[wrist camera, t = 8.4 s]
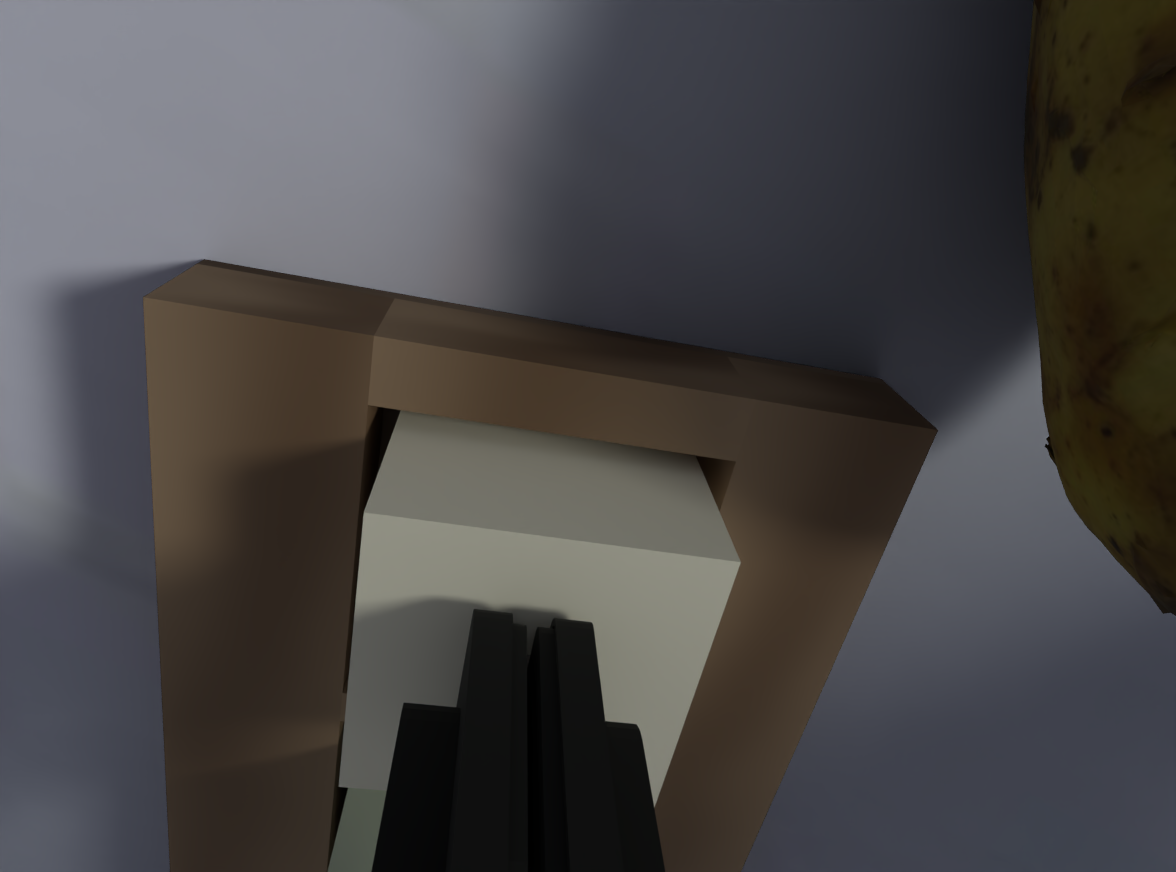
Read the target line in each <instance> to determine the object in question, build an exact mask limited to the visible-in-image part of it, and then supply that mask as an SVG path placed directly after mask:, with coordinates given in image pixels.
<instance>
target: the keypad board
mask: <svg viewBox="0 0 1176 872" xmlns="http://www.w3.org/2000/svg"><path fill="white" fill-rule="evenodd" d="M143 307H144V328H145V349H146V370H147V392H148V413H149V434H150V455H151V477H152V498H153V519H154V540H155V561H156V583H157V604H158V625H159V646H160V667H161V689H162V710H163V731H164V752H165V773H166V795H167V816H168V837H169V858H170V872H328V868H329V864H330V860H331V856H332V852H333V848H334V844H335V839H336V835H337V831H338V827H339V823H340V819H341V815H342V811H343V807H344V803H345V799H346V795H347V791H348V788H347V787H339V777H340V766H341V755H342V744H343V733H344V722H345V711H346V701H347V690H348V679H349V668H350V657H351V646H352V635H353V624H354V613H355V603H356V592H357V581H358V570H359V559H360V548H361V537H362V526H363V515H364V510H365V508H366V505H367V502H368V499H369V497H370V494H371V491H372V488H373V486H374V483H375V480H376V477H377V474H378V472H379V469H380V466H381V463H382V461H383V458H384V455H385V452H386V450H387V447H388V444H389V441H390V439H391V436H392V433H393V430H394V428H395V425H396V422H397V419H398V417H399V414H400V411H401V410H403V411H410V412H416V413H423V414H429V415H436V416H442V417H449V418H455V419H462V420H468V421H475V422H481V423H488V424H494V425H501V426H507V427H514V428H521V429H527V430H534V431H540V432H547V433H553V434H560V435H566V436H573V437H579V438H586V439H592V440H599V441H605V442H612V443H618V444H625V445H631V446H638V447H644V448H651V449H657V450H664V451H670V452H677V453H683V454H690V455H696V458H697V460H698V462H699V465H700V467H701V469H702V472H703V474H704V476H705V479H706V481H707V484H708V486H709V488H710V491H711V493H712V495H713V498H714V500H715V502H716V505H717V507H718V510H719V512H720V514H721V517H722V519H723V521H724V524H725V526H726V528H727V531H728V533H729V536H730V538H731V540H732V543H733V545H734V547H735V550H736V552H737V554H738V557H739V559H740V562H741V563H740V566H739V569H738V572H737V575H736V577H735V580H734V583H733V586H732V589H731V592H730V594H729V597H728V600H727V603H726V606H725V609H724V611H723V614H722V617H721V620H720V623H719V626H718V628H717V631H716V634H715V637H714V640H713V643H712V646H711V648H710V651H709V654H708V657H707V660H706V663H705V665H704V668H703V671H702V674H701V677H700V680H699V682H698V685H697V688H696V691H695V694H694V697H693V699H692V702H691V705H690V708H689V711H688V714H687V716H686V719H685V722H684V725H683V728H682V731H681V734H680V736H679V739H678V742H677V745H676V748H675V751H674V753H673V756H672V759H671V762H670V765H669V768H668V770H667V773H666V776H665V779H664V782H663V785H662V787H661V790H660V793H659V796H658V799H657V802H656V804H655V807H654V809H655V815H656V820H657V826H658V832H659V838H660V843H661V849H662V855H663V860H664V866H665V872H741V870H742V868H743V866H744V864H745V861H746V859H747V857H748V855H749V852H750V850H751V848H752V846H753V843H754V841H755V839H756V837H757V834H758V832H759V830H760V828H761V826H762V823H763V821H764V819H765V817H766V814H767V812H768V810H769V808H770V805H771V803H772V801H773V799H774V796H775V794H776V792H777V790H778V787H779V785H780V783H781V781H782V779H783V776H784V774H785V772H786V770H787V767H788V765H789V763H790V761H791V758H792V756H793V754H794V752H795V749H796V747H797V745H798V743H799V740H800V738H801V736H802V734H803V731H804V729H805V727H806V725H807V723H808V720H809V718H810V716H811V714H812V711H813V709H814V707H815V705H816V702H817V700H818V698H819V696H820V693H821V691H822V689H823V687H824V684H825V682H826V680H827V678H828V676H829V673H830V671H831V669H832V667H833V664H834V662H835V660H836V658H837V655H838V653H839V651H840V649H841V646H842V644H843V642H844V640H845V637H846V635H847V633H848V631H849V628H850V626H851V624H852V622H853V620H854V617H855V615H856V613H857V611H858V608H859V606H860V604H861V602H862V599H863V597H864V595H865V593H866V590H867V588H868V586H869V584H870V581H871V579H872V577H873V575H874V573H875V570H876V568H877V566H878V564H879V561H880V559H881V557H882V555H883V552H884V550H885V548H886V546H887V543H888V541H889V539H890V537H891V534H892V532H893V530H894V528H895V526H896V523H897V521H898V519H899V517H900V514H901V512H902V510H903V508H904V505H905V503H906V501H907V499H908V496H909V494H910V492H911V490H912V487H913V485H914V483H915V481H916V478H917V476H918V474H919V472H920V470H921V467H922V465H923V463H924V461H925V458H926V456H927V454H928V452H929V449H930V447H931V445H932V443H933V440H934V438H935V436H936V434H937V431H938V430H937V429H936V428H935V427H934V426H933V425H932V424H931V423H930V422H929V421H927V420H926V419H925V418H924V417H923V416H922V415H921V414H920V413H919V412H917V411H916V410H915V409H914V408H913V407H912V406H911V405H910V404H909V403H907V402H906V401H905V400H904V399H903V398H902V397H901V396H900V395H899V394H898V393H896V392H895V391H894V390H893V389H892V388H891V387H890V386H889V385H888V384H886V383H885V382H884V381H883V380H882V379H880V378H874V377H868V376H863V375H857V374H851V373H846V372H840V371H834V370H829V369H823V368H817V367H812V366H806V365H800V364H795V363H789V362H783V361H778V360H772V359H766V358H761V357H755V356H749V355H744V354H738V353H732V352H727V351H721V350H715V349H710V348H704V347H698V346H693V345H687V344H681V343H676V342H670V341H664V340H659V339H653V338H647V337H642V336H636V335H630V334H625V333H619V332H613V331H607V330H602V329H596V328H590V327H585V326H579V325H573V324H568V323H562V322H556V321H551V320H545V319H539V318H534V317H528V316H522V315H517V314H511V313H505V312H500V311H494V310H488V309H483V308H477V307H471V306H466V305H460V304H454V303H449V302H443V301H437V300H432V299H426V298H420V297H415V296H409V295H403V294H398V293H392V292H386V291H381V290H375V289H369V288H364V287H358V286H352V285H347V284H341V283H335V282H330V281H324V280H318V279H313V278H307V277H301V276H296V275H290V274H284V273H279V272H273V271H267V270H262V269H256V268H250V267H245V266H239V265H233V264H228V263H222V262H216V261H211V260H205V259H204V260H202V261H201V262H199V263H198V264H196V265H194V266H193V267H191V268H189V269H188V270H186V271H185V272H183V273H181V274H180V275H178V276H177V277H175V278H173V279H172V280H170V281H168V282H167V283H165V284H164V285H162V286H160V287H159V288H157V289H155V290H154V291H152V292H151V293H149V294H147V295H146V296H144V297H143Z"/></svg>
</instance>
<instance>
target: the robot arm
mask: <svg viewBox="0 0 1176 872" xmlns="http://www.w3.org/2000/svg"><path fill="white" fill-rule="evenodd" d="M371 872H665V866H664V860H663V855H662V849H661V843H660V838H659V832H658V826H657V820H656V815H655V809H654V803H653V797H652V792H651V786H650V780H649V774H648V769H647V763H646V757H645V751H644V746H643V740H642V736H641V732H640V729H639V727H638V726H637V724H631V723H621V722H610V721H605V715H604V707H603V698H602V690H601V682H600V674H599V666H598V658H597V650H596V642H595V633H594V627H593V624H592V622H586V621H577V620H568V619H559V618H554V619H553V620H552V622H551V626H550V628H545V627H537V629H536V633H535V637H534V641H533V646H532V650H531V655H530V659H529V664H528V668H527V627H526V625H518V624H513V614H512V613H506V612H497V611H489V610H480V609H474V610H473V615H472V620H471V626H470V631H469V637H468V643H467V649H466V654H465V660H464V666H463V671H462V677H461V683H460V689H459V694H458V700H457V706H456V707H448V706H437V705H426V704H416V703H405V702H404V703H403V707H402V712H401V717H400V722H399V727H398V733H397V738H396V743H395V749H394V754H393V759H392V765H391V770H390V775H389V781H388V786H387V791H386V797H385V802H384V807H383V812H382V818H381V823H380V828H379V834H378V839H377V844H376V850H375V855H374V860H373V866H372V871H371Z"/></svg>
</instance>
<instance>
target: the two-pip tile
mask: <svg viewBox="0 0 1176 872" xmlns="http://www.w3.org/2000/svg"><path fill="white" fill-rule="evenodd" d="M385 797H386V791H385V790H372V789H359V788H348V791H347V795H346V799H345V803H344V807H343V811H342V815H341V819H340V823H339V827H338V831H337V835H336V839H335V844H334V848H333V852H332V856H331V860H330V864H329V868H328V872H371V871H372V866H373V860H374V855H375V850H376V844H377V839H378V834H379V828H380V823H381V818H382V812H383V807H384V802H385Z"/></svg>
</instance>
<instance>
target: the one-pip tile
mask: <svg viewBox="0 0 1176 872" xmlns="http://www.w3.org/2000/svg"><path fill="white" fill-rule="evenodd" d="M740 563H741V562H740V559H739V557H738V554H737V552H736V550H735V547H734V545H733V543H732V540H731V538H730V536H729V533H728V531H727V528H726V526H725V524H724V521H723V519H722V517H721V514H720V512H719V510H718V507H717V505H716V502H715V500H714V498H713V495H712V493H711V491H710V488H709V486H708V484H707V481H706V479H705V476H704V474H703V472H702V469H701V467H700V465H699V462H698V460H697V458H696V455H690V454H683V453H677V452H670V451H664V450H657V449H651V448H644V447H638V446H631V445H625V444H618V443H612V442H605V441H599V440H592V439H586V438H579V437H573V436H566V435H560V434H553V433H547V432H540V431H534V430H527V429H521V428H514V427H507V426H501V425H494V424H488V423H481V422H475V421H468V420H462V419H455V418H449V417H442V416H436V415H429V414H423V413H416V412H410V411H403V410H401V411H400V414H399V417H398V419H397V422H396V425H395V428H394V430H393V433H392V436H391V439H390V441H389V444H388V447H387V450H386V452H385V455H384V458H383V461H382V463H381V466H380V469H379V472H378V474H377V477H376V480H375V483H374V486H373V488H372V491H371V494H370V497H369V499H368V502H367V505H366V508H365V510H364V515H363V526H362V537H361V548H360V559H359V570H358V581H357V592H356V603H355V613H354V624H353V635H352V646H351V657H350V668H349V679H348V690H347V701H346V711H345V722H344V733H343V744H342V755H341V766H340V777H339V787H347V788H359V789H372V790H385V791H387V786H388V781H389V775H390V770H391V765H392V759H393V754H394V749H395V743H396V738H397V733H398V727H399V722H400V717H401V712H402V707H403V703H404V702H405V703H416V704H426V705H437V706H448V707H456V706H457V700H458V694H459V689H460V683H461V677H462V671H463V666H464V660H465V654H466V649H467V643H468V637H469V631H470V626H471V620H472V615H473V610H474V609H480V610H489V611H497V612H506V613H512V614H513V624H518V625H526V627H527V668H528V664H529V659H530V655H531V650H532V646H533V641H534V637H535V633H536V629H537V627H545V628H550V626H551V622H552V620H553V619H554V618H559V619H568V620H577V621H586V622H592V624H593V627H594V633H595V642H596V650H597V658H598V666H599V674H600V682H601V690H602V698H603V707H604V715H605V721H610V722H621V723H631V724H637V726H638V727H639V729H640V732H641V736H642V740H643V746H644V751H645V757H646V763H647V769H648V774H649V780H650V786H651V792H652V797H653V803H654V807H655V804H656V802H657V799H658V796H659V793H660V790H661V787H662V785H663V782H664V779H665V776H666V773H667V770H668V768H669V765H670V762H671V759H672V756H673V753H674V751H675V748H676V745H677V742H678V739H679V736H680V734H681V731H682V728H683V725H684V722H685V719H686V716H687V714H688V711H689V708H690V705H691V702H692V699H693V697H694V694H695V691H696V688H697V685H698V682H699V680H700V677H701V674H702V671H703V668H704V665H705V663H706V660H707V657H708V654H709V651H710V648H711V646H712V643H713V640H714V637H715V634H716V631H717V628H718V626H719V623H720V620H721V617H722V614H723V611H724V609H725V606H726V603H727V600H728V597H729V594H730V592H731V589H732V586H733V583H734V580H735V577H736V575H737V572H738V569H739V566H740Z"/></svg>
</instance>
